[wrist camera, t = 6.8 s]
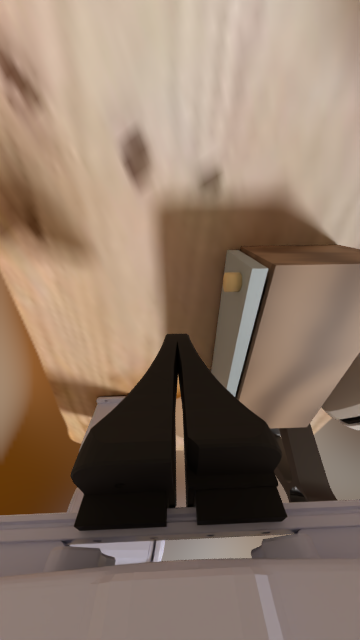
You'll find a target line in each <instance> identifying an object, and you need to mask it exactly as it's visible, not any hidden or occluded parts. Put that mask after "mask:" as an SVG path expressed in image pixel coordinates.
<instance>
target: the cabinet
mask: <svg viewBox="0 0 360 640" xmlns="http://www.w3.org/2000/svg"><path fill="white" fill-rule="evenodd" d="M240 251H241V252H242V253H244V254H246V255H247V256H249V257H251V258H252V259H254V260H256V261H257V262H259V263H260V264H262V265H264V266H265V267H267V268H268V272H267V276H266V280H265V284H264V287H263V291H262V295H261V299H260V303H259V307H258V310H257V314H256V318H255V322H254V326H253V330H252V333H251V337H250V341H249V345H248V349H247V353H246V356H245V360H244V364H243V368H242V372H241V376H240V379H239V383H238V387H237V391H236V395H235V398H236V399H238V400H239V401H240V402H241V403H242V404H243V405H245V406H246V407H247V408H248V409H249V410H251V411H252V412H253V413H255V414H256V415H257V416H259V417H260V418H261V419H263V420H264V421H265V422H266V423H267V424H268V426H269V428H299V427H307V426H308V425H309V424H310V422H311V421H312V419H313V418H314V416H315V415H316V414H317V412H318V411H319V409H320V408H321V407H322V405H323V404H324V402H325V401H326V399H327V398H328V397H329V395H330V394H331V392H332V391H333V389H334V388H335V387H336V385H337V384H338V382H339V381H340V380H341V378H342V377H343V375H344V374H345V372H346V371H347V370H348V368H349V367H350V365H351V364H352V362H353V361H354V360H355V358H356V357H357V355H358V354H359V353H360V249H355V248H350V247H346V246H341V245H305V246H246V247H241V250H240Z"/></svg>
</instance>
